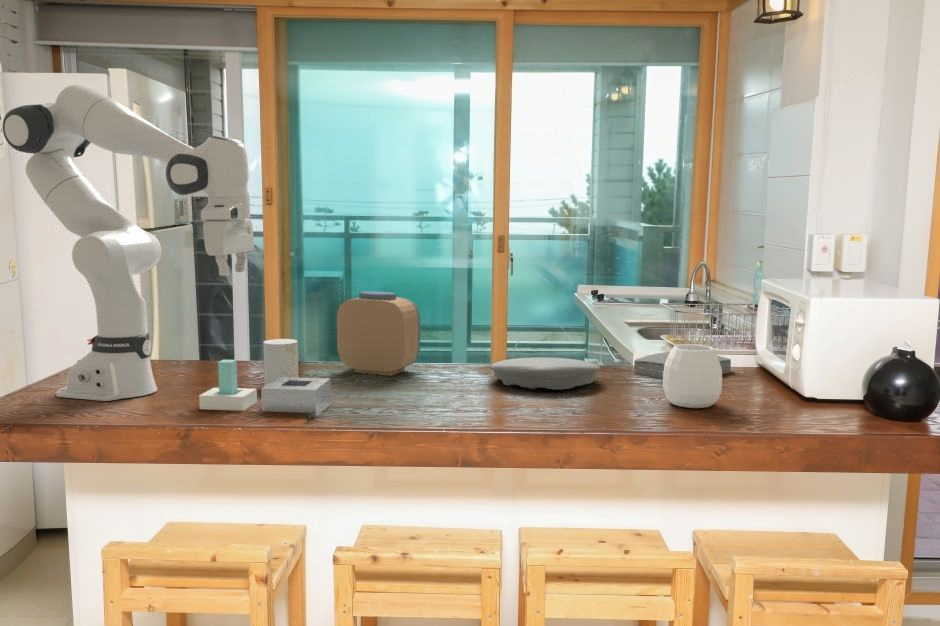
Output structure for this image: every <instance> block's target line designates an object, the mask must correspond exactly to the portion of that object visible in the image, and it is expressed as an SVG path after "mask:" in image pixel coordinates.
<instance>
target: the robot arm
mask: <svg viewBox="0 0 940 626" xmlns="http://www.w3.org/2000/svg"><path fill="white" fill-rule="evenodd" d="M2 133H3V136H4V138H5V141H6V143H7V144H8V145H9V146H10V147H11V148H12V149H14V151H15V150H16V151H17V152H21V153H26V154H32V156H30V157H29V159H28V160H27V162H26V165H25V174H26V176H27V178H28V179H29V182H30V183H31V185H32V187H33V189H34V190H35V192H36V193H37V195H38V196H39V197H40V198H41V200H42V201H43V202H44V204H45V205H46V206H47V207H48V208H49V209H50V211H51V212H52V213H53V215H54V216H55V217H56V218H57V219H58V220H59V222H60V223H61V224H62V225H63V226H64V228H65V229H66V230H67V231H69V232H70V233H72V234H74V235H76V236H78V237H80V238H79V239H78V240H76V242H75V243H74V245H73V247H72V252H71V256H72V258H71V259H72V262H73V265H74V267H75V269H76V270H77V272H79V273H80V274H81V275H82V276H83V277H84V278H85V280H86V281H87V283H88V286H89V287H90V290H91V293H92V296H93V299H94V302H95V303H94V304H95V312H96V313H95V314H96V325H97V334H96V335H95V336H94V337H92V338H89V339H86V340H87V342H88V343H87V346H89V345H91V351H89V352H88V353H87V354H86V355H84V356H83V357H82V358H80V360H78V361H77V362H76V363H74V364H73V365H72V366H70V368H69V370H68V372H67V375H66V376H67V377H66V386H64V387H61V388H59V389H57V391H56V397H58V398H69V399H79V400H90V401H102V402H109V401H114V400H115V401H116V400H121V399H128V398H137V397H142V396H147V395H152V394H153V393H156V392H157V391H158V387H157V385H156V381H155V378H154V375H153V370H152V364H151V338H150V333H149V331H148V312H147V310H148V309H147V302H146V300H145V298H144V297H143V296H142V295H141V294H140V293H139V291H138V289H137V287H136V284H135V281H134V276H133V275H141V274H143V273H146V272H147V271H150V270H151V269H152V268H154V267H156V266H157V265H158V264H159V262H160V261H161V258H162V246H161V243H160V240H158V238H157V237H156V235H154V234H152V233H151V232H148V231H146V230H144V229H143V228H141V227H139V226H138V225H136V224H135V223H134V222H133V221H131V219H129V218H128V217H126V216H125V215H124V214H122V212H120V211H119V210H118V209H116V207H114V206H113V205H112V204H111V203H110V202H109V201H107V199H105V198H104V196H103V195H102V193H100V192H99V191H98V189H97V188H96V187H95V186H94V185H93V183H92V182H91V181H90V180H89V179H88V178H87V176H86V175H85V174H84V172H83V171H81V169H80V168H79V167H78V166H77V164H76V163H75V158H78V157H81V156H83V155H84V154H85V151H86V149H87V148H88V147H89V146H90V145H91V144H93V145H95V146H96V147H99V148H101V149H103V150H106V151H108V152H112V153H115V154H119V155H120V154H121V155H127V156H128V155H129V156H138V157H145V158H150V159H154V160H157V161H160V162H163V163H165V164H166V168H165V179H166V182H167V184H168V187H169V188H170V190H171V191H173V192H174V193H175V194H177V195H179V196H180V195H181V196H184V197H197V198H198V197H199V198H201V197H203V198H207V202H208V203H206V205H205V207H203V208H202V209H201V211H200V219H201V220H202V221H204V222H203V226H202V230H203V231H202V232H203V242H204V248H205V251H206V254H207V255H208V256H213V257H214V256H215V262H216V265H217V267H218V274H219V276H222V277H226V276H229V275H230V267H229V266H228V255H233V254H235V257H236V262H235V264H234V268H235V269H234V270H235V272H236V273H243V272H245V271H246V265H245V264H246V260H247V256H248V255H247V252H250V251H253V250H254V249H255V237H254V228H253V221H252V220H251V201H250V200H251V199H250V192H249V189H248V182H249V178H250V177H249V162H248V156H247V154H248V153H247V150H246V147H245V144H244V143H243V142H242V141H240V140H239V139H236V138H233V137H232V138H231V137H224V136H218V135H213V136H208V138H207V139H205V141H204V142H203V143H202V144H200V145H198V146H196V147H194V146H192V145H190V144H188V143H186V142H184V141H182V140H180V139H179V138H177V137H174V136H173V135H171V134H169V133H167V132H165V131H164V130H162V129H160V128H159V127H157V126H156V125H154V124H153V123H151V122H149V121H147V120H146V119H144V118H143V117H142V116H140V115H138V114H137V113H135V112H134V111H133V110H131V109H130V108H129V107H127V106H125V105H123V104H122V103H121V102H119V101H117V100H115V99H114V98H111V97H110V96H108V95H107V94H104V93H102V92H100V91H98V90H95V89H93V88H90V87H87V86H84V85H80V84H72V85H68V86H66V87H65V88H63V89H62V90H61V91H60V92H59V93H58V95H57V97H56V99H55V102H54V103H49V102H48V103H43V104H39V103H38V104H25V105H21V106H17V107H15V108H12V109H10V110H9V111H7V112H6V114H5V115H4V117H3V120H2Z"/></svg>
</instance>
